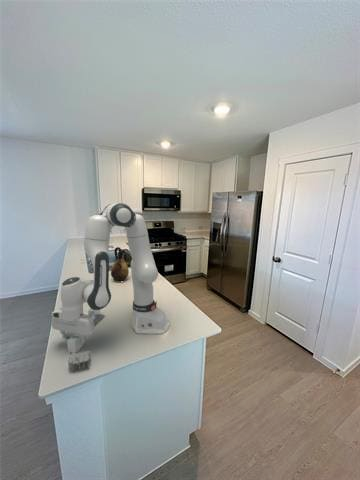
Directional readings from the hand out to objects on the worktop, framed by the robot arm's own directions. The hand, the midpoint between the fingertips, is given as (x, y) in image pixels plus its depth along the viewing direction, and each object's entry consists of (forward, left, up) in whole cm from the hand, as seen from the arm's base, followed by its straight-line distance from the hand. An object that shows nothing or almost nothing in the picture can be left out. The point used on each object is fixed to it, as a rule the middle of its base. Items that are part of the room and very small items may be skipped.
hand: (73, 339), depth 94 cm
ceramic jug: (+20, -83, -5) cm, 86 cm away
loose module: (-1, 0, -5) cm, 5 cm away
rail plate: (+6, -16, -5) cm, 18 cm away
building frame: (-10, +9, -5) cm, 14 cm away
